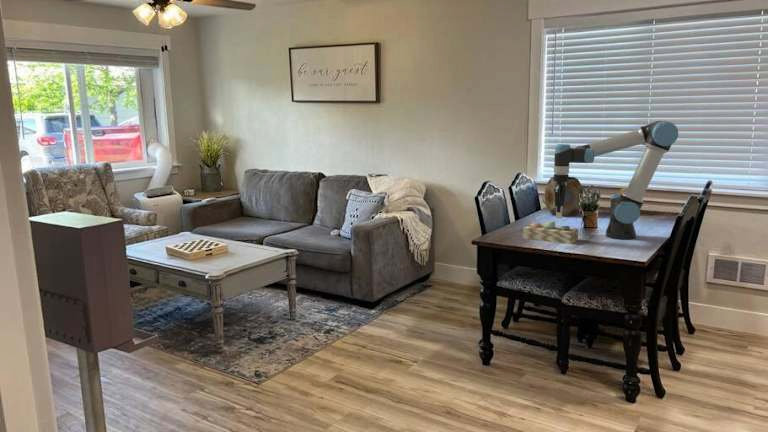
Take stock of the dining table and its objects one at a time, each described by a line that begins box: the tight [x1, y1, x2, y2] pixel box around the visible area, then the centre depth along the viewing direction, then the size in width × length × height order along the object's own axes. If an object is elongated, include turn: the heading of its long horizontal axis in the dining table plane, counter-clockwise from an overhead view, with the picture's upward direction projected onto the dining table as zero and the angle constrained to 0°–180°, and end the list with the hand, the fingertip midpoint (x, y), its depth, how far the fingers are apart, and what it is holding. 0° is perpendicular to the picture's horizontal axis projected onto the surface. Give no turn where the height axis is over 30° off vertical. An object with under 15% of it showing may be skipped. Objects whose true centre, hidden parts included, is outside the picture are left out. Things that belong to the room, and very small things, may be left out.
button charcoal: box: [560, 225, 571, 231], centre depth 304 cm, size 5×5×4 cm
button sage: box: [545, 220, 556, 230], centre depth 308 cm, size 5×5×4 cm
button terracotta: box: [531, 222, 542, 228], centre depth 313 cm, size 5×5×4 cm
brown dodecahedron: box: [543, 176, 584, 217], centre depth 376 cm, size 22×24×24 cm
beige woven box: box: [522, 223, 579, 245], centre depth 309 cm, size 26×12×6 cm, turn 53°
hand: (558, 218), depth 304 cm, fingers closed
